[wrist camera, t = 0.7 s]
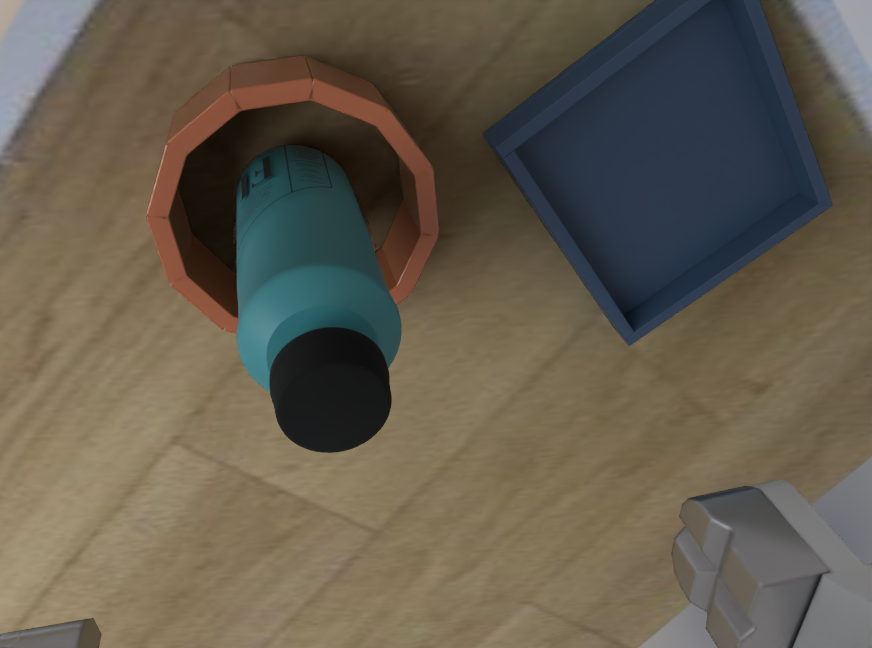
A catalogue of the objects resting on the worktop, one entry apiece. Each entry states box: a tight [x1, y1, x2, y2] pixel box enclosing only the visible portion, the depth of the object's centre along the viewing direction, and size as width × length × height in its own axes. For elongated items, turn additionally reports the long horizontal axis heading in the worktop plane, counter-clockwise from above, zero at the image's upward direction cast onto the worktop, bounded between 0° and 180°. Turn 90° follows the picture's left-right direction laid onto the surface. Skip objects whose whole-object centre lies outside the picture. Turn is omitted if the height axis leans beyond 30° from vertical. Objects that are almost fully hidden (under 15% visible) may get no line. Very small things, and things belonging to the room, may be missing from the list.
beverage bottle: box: [233, 145, 401, 453], centre depth 32 cm, size 6×7×20 cm
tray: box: [483, 0, 832, 345], centre depth 43 cm, size 18×16×3 cm
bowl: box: [146, 55, 439, 334], centre depth 38 cm, size 14×14×5 cm
